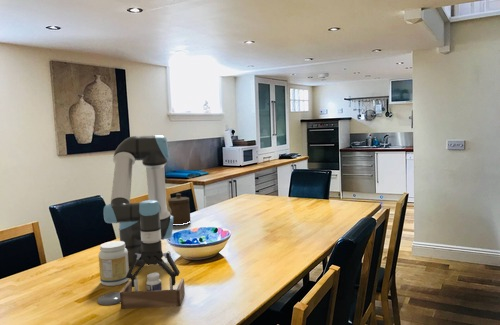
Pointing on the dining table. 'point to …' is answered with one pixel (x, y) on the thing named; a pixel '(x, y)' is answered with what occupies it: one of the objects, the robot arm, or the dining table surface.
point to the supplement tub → (113, 263)
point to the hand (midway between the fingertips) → (154, 294)
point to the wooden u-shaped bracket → (151, 297)
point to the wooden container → (179, 209)
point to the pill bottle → (153, 282)
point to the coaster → (109, 298)
